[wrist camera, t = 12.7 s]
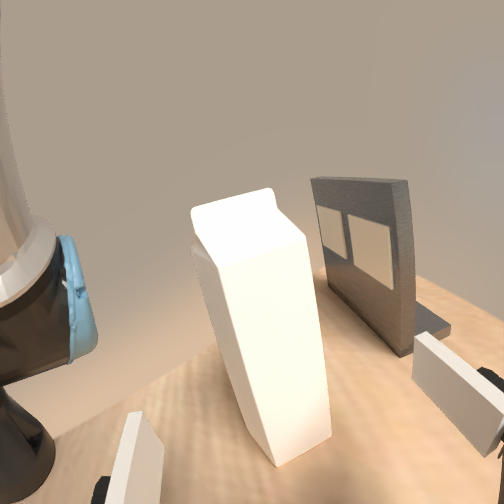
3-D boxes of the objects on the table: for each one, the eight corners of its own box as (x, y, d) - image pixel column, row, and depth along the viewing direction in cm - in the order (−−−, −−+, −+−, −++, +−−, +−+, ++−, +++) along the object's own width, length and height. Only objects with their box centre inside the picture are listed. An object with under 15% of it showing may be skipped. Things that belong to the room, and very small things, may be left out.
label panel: (398, 358, 32) (388, 183, 26) (326, 286, 57) (308, 179, 52) (450, 334, 32) (448, 173, 27) (365, 274, 57) (351, 171, 52)
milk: (332, 436, 24) (299, 185, 18) (275, 469, 21) (203, 209, 16) (297, 404, 29) (254, 187, 23) (246, 430, 27) (178, 207, 21)
